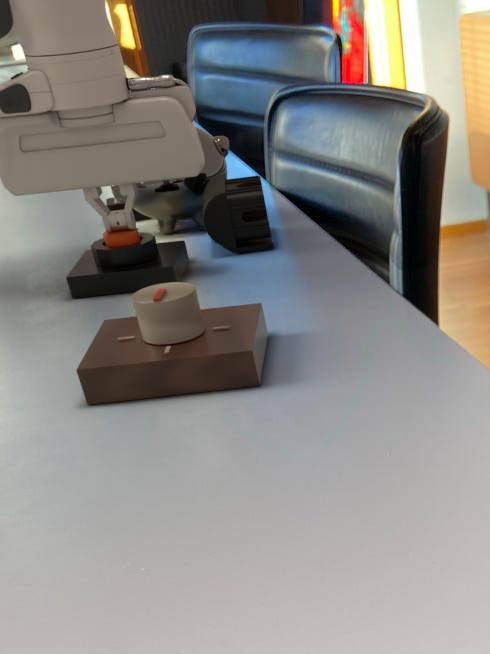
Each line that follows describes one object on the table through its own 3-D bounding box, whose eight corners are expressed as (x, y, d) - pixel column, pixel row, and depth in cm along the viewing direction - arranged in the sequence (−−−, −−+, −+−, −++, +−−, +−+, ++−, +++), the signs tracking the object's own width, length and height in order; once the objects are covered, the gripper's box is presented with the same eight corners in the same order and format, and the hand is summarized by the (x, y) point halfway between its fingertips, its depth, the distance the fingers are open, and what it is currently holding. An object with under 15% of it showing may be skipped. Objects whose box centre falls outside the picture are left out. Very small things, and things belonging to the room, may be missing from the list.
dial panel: (87, 405, 82) (75, 367, 81) (113, 352, 92) (103, 317, 90) (259, 385, 83) (251, 348, 81) (268, 335, 93) (261, 300, 91)
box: (72, 298, 106) (60, 259, 104) (91, 270, 114) (80, 233, 112) (178, 287, 107) (168, 248, 104) (189, 260, 115) (180, 223, 112)
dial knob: (150, 325, 88) (138, 281, 86) (209, 320, 88) (199, 276, 86) (136, 347, 84) (123, 301, 81) (199, 341, 84) (188, 295, 81)
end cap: (210, 236, 122) (197, 175, 118) (269, 228, 123) (258, 168, 119) (211, 258, 115) (196, 195, 111) (273, 250, 115) (262, 186, 111)
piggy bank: (126, 223, 131) (100, 124, 124) (243, 207, 133) (223, 110, 126) (120, 245, 122) (91, 141, 115) (245, 229, 124) (224, 125, 117)
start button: (104, 254, 107) (99, 237, 106) (110, 245, 110) (106, 228, 109) (139, 251, 107) (134, 233, 106) (144, 241, 110) (139, 225, 109)
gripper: (191, 67, 103) (222, 211, 111) (-15, 89, 102) (32, 232, 110) (184, 76, 97) (217, 226, 106) (-33, 99, 96) (18, 248, 105)
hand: (121, 229), depth 108 cm, fingers closed, pressing on start button
